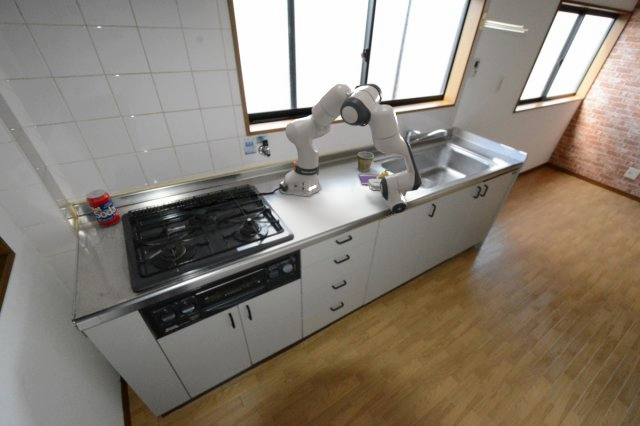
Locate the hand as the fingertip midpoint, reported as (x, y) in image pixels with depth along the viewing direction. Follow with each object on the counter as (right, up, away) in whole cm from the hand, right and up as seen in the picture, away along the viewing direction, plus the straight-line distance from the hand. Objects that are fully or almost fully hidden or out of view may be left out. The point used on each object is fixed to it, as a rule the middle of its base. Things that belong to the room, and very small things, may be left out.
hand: (383, 177), depth 149 cm
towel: (-3, 0, +14) cm, 14 cm away
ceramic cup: (-6, +9, +26) cm, 28 cm away
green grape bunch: (0, -5, +3) cm, 6 cm away
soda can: (-128, -24, -29) cm, 134 cm away
